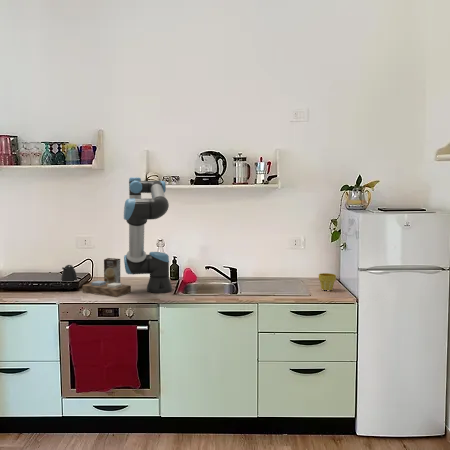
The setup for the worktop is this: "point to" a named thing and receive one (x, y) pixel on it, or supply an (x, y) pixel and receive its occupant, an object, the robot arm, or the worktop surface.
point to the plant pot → (327, 281)
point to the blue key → (98, 283)
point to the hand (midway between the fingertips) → (135, 238)
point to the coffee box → (112, 270)
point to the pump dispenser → (68, 273)
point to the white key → (114, 285)
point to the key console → (106, 289)
